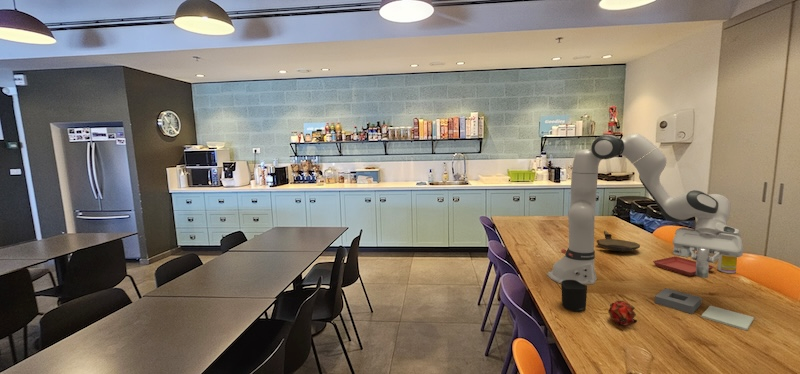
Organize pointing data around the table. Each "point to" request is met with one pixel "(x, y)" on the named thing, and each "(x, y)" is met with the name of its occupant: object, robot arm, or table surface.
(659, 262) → the plant saucer
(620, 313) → the dragon fruit
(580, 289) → the pen holder
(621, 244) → the frying pan
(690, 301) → the square socket
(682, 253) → the light bulb box
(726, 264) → the supplement bottle
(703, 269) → the peg
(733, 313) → the pad
